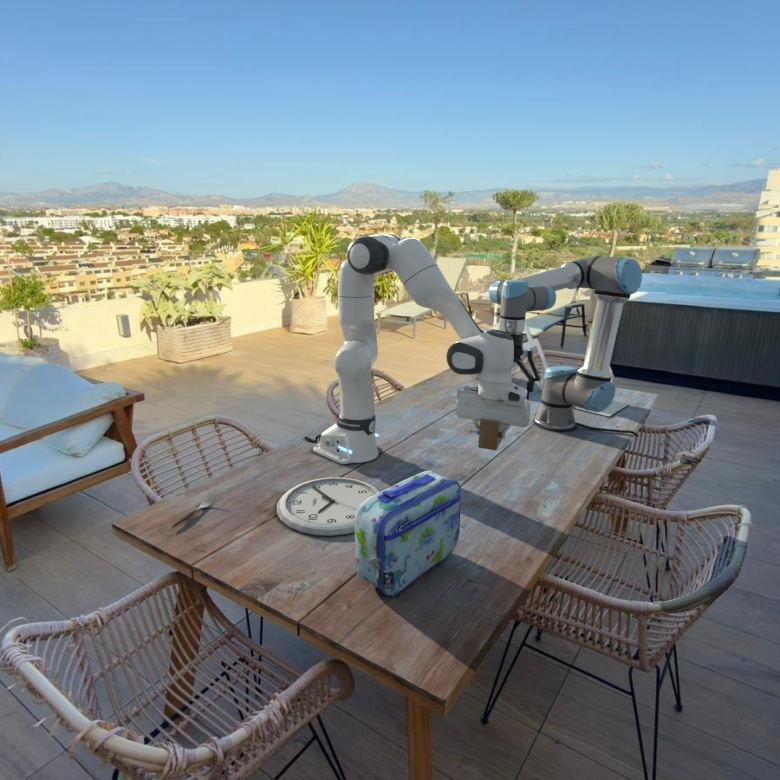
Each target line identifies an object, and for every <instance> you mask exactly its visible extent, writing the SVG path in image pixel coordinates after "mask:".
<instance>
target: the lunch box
mask: <svg viewBox="0 0 780 780" xmlns="http://www.w3.org/2000/svg"><path fill="white" fill-rule="evenodd" d="M380 491H381V492H379V493H377V494H375V495H373V496H371V497H369V498H367V499H366V500H364V501H363V502H362V504H361V505H360V506H359V508H358V510H357V513H356V516H355V532H354V543H355V545H354V546H355V548H354V551H355V552H354V553H355V570H356V573H357V577H359V578H360V579H361V580H362V581H363V580H364V581H365V582H367V583H369V584H371V585H373V586H374V587H375V588H377V589H379V591H380V592H381V593H382V594H384V595H386V596H387V597H394V596H396V595H398V594H399V593H400V592H402V591H403V590H404V589H405V588H407V587H408V586H409V585H410V584H412V583H413V582H414V581H416V580H417V579H418V578H421V576H423V575H424V574H425V573H427V572H428V571H429V570H430V569H431V568H432V567H434V566H435V565H437V564H438V563H440V562H442V561H443V560H445V559H446V558H448V557H449V556H450V555H451V554H452V552H453V551H454V550H455V548H456V545H457V544H458V540H459V537H460V529H461V485H460V483H459V482H458V481H457V480H456V479H449V478H446V477H444V476H442V475H440V474H439V473H437V472H434V471H432V470H425V471H422V472H419V473H417V474H415V475H413V476H410V477H408V478H406V479H403V480H401V481H400V482H398V483H395V484H393V485H392V486H389V487H387V488H385V489H384V490H380Z"/></svg>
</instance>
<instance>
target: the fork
mask: <svg viewBox="0 0 780 780" xmlns="http://www.w3.org/2000/svg"><path fill="white" fill-rule="evenodd" d="M216 495H217V494H212V493H208V494H207V495H206V497H205V498H204V499H203V501H202V502H201V503H200V505H198V507H197V508H196V509H193V510H192V511H190V512H188V513H187V514H185V515H183V517H181V518H180V519H179V520H178V521H176V522H175V523H174V524H173V525H172V526H171V529H173V528H175V527H176V526H178V525H179V524H181V523H183V522H184V521H186V520H188V519H189V518H191V517H192V516H193V515H194V514H195V513H197V511H198V510H200V509H207V508H208V507H210V505H211V504H212V502H213V501H214V499H215V497H216Z"/></svg>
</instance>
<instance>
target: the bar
mask: <svg viewBox="0 0 780 780" xmlns="http://www.w3.org/2000/svg"><path fill="white" fill-rule="evenodd" d="M479 426H480V430H479V435H478V444H477V447H478V449H485V450H491V451H497V450H498V448H499V446H500V444H501V443H502V440H504V439H503V438H499V432H500V430H501V431H503V430H504V429H505V428H504V424H500V421H493V420H486V419H481V420H479Z"/></svg>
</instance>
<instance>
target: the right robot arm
mask: <svg viewBox="0 0 780 780" xmlns="http://www.w3.org/2000/svg"><path fill="white" fill-rule="evenodd" d="M642 281H643V272H642V268H641V265H640V264H639V261H637V260H636V259H633V258H631V257H624V256H602V255H592V256H585V257H582V258H578V259H575V260H571V261H568V262H565V263H564V264H562V265H561V266H560V267H557V268H553V269H550V270H546V271H542V272H539V273H536V274H532V275H528V276H524V277H521V278H517V279H507V280H501V281H499V280H497V281H494V282H493V283H492V284H491V285H490V287H489V289H488V298H489V300H490V301H491V303H493V304H496V305H499V306H500V311H499V312H500V313H499V322H498V330H500V331H504V332H506V333H508V334H509V335H510V336H511V337H512V339H513V343H514V360H513V363H514V362H516V363H517V365H516V366H518V367H519V368H520V370H521V371H522V372H523V374H524V375H525V377H526V378H527V379H528V380H527V381H526V387H525V389H526V390H527V397H526V399H527V400H528V402H529V400H530V394H531V393H533V391H534V387H535V383H536V381H540V382H541V379H543V381H542V390H541V391H542V392H541V402H540V405H539V407H538V410H537V411H536V413H535V414H534V424H535V425H536V426H537V427H539V428H542V429H544V430H549V431H556V432H567V431H572V430H574V429H575V428H576V426H579V427H583V428H585V429H589V430H594V431H601V432H609V433H610V432H611V433H620V434H627V433H628V434H632V435H633V436H634V437H636V438H639V437H640V435H638V434H637V432H635V431H634V430H629V429H628V430H625V429H615V428H614V429H613V428H602V427H594V426H590V425H586V424H584V423H580V422H577V421H576V418H575V417H576V416H575V413H574V407H576V406H578V407H580V408H583V409H585V410H588V411H593V412H601V411H603V410H605V409H606V408H607V407H608V406H609V405H610V404H611V402H612V401H614V398H615V395H616V386H615V384H614V383H613V382H611V381H612V374H611V373H610V372H609V369H610V365H611V361H612V356H613V351H614V348H615V343H616V339H617V334H618V331H619V326H620V321H621V317H622V313H623V308H624V304H625V303H627V302H628V301H629V300H630V299H631V295H634V294H636V293H637V292H638V291H639V289H640V287H641V285H642ZM564 289H568V290H574V289H589V290H594V293H593V296H594V297H595V298H596V300H597V301H596V304H595V310H594V314H593V319H592V324H591V328H590V333H589V338H588V342H587V346H586V351H585V354H584V355H585V356H584V360H583V365H582V367H580V368H579V369H578V368H577V367H575V366H569V365H568V366H567V365H557V366H550V367H549V366H548V368H547V369H546V370H545V369H544V375H543V378H542V376H541V373H540V371H539V369H538V366H537V362H536V360H535V358H534V354H533V350H532V349H529V350H523V348H522V346H523V343H524V333H523V332H525V329H524V326H525V319H526V316H527V315H526V314H527V312H539V311H541V312H543V311H545V310H546V311H547V310H550V309H551V308H553V307H554V306H555V304H556V302H557V291H562V290H564ZM522 354H525V356H526V358H527V360H528V363H529V367H530V369H531V368H532V369H531V371H530V369H529V368H528V367H527V365H526V363H525V362H524V360H522V359H521V358H520V357H521V355H522ZM532 371H533V372H532ZM533 373H534V375H533ZM534 376H535V377H534ZM573 406H574V407H573ZM588 411H587V412H588Z"/></svg>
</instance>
